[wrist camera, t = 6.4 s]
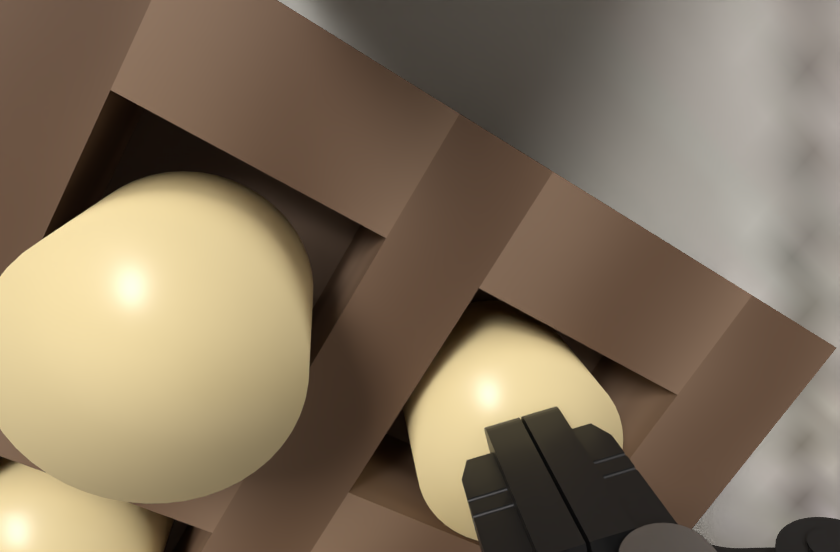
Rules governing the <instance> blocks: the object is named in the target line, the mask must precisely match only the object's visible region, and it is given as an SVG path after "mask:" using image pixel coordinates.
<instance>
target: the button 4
mask: <svg viewBox="0 0 840 552" xmlns="http://www.w3.org/2000/svg"><path fill="white" fill-rule="evenodd" d="M556 406H557V407H558V408H559V409H560V411H561V412H562V414H563V416H564V417H565V419H566V420H567V422H568V423H569V425H570V426H571V428H572V429H573V428H576V427H580V426H583V425H587V424H590V423H591V424H593V425H595V426H597V427H598V428H600V429H602V430H604V431H606V432H607V433H609V434H611V435H612V436H613V437H614V439H615V440H616V441H617V443H618V444H619V445H620V447H621V448H622V449H623V430H622V424H621V420H620V416H619V414H618V411H617V409H616V407H615V405H614V403H613V401H612V400H611V398H610V397H609V395H608V394H607V393H606V392H605V390H604V389H603V388H602V387H601V385H600V384H599V383H598V382H597V381H596V379H595V378H594V377H593V376H592V374H591V373H590V372H589V371H588V370H587V368H586V367H585V366H584V365H583V363H582V362H581V361H580V360H579V359H578V357H577V356H576V355H575V354H574V352H573V351H572V350H571V349H570V348H569V346H568V345H567V344H566V343H565V341H564V340H563V339H562V338H561V337H560V335H559V334H558V333H557V332H556V330H555V329H554V328H552V327H550V326H548V325H547V324H545V323H543V322H541V321H539V320H537V319H535V318H533V317H532V316H530V315H528V314H526V313H524V312H522V311H520V310H519V309H517V308H515V307H513V306H511V305H509V304H507V303H506V302H504V301H490V300H489V301H479V302H474V303H469V304H468V306H467V308H466V309H465V311H464V312H463V314H462V315H461V317H460V319H459V320H458V322H457V323H456V325H455V326H454V328H453V330H452V331H451V333H450V334H449V336H448V337H447V339H446V340H445V342H444V344H443V345H442V347H441V348H440V350H439V351H438V353H437V355H436V356H435V358H434V359H433V361H432V362H431V364H430V366H429V367H428V369H427V370H426V372H425V373H424V375H423V376H422V378H421V380H420V381H419V383H418V384H417V386H416V387H415V389H414V391H413V392H412V394H411V395H410V397H409V398H408V400H407V402H406V403H405V405H404V406H403V412H404V417H405V421H406V426H407V431H408V435H409V440H410V445H411V449H412V454H413V459H414V463H415V468H416V473H417V477H418V482H419V487H420V490H421V492H422V495H423V497H424V499H425V501H426V503H427V505H428V506H429V508H430V509H431V511H432V512H433V513H434V514H435V515H436V517H437V518H438V519H439V520H441V521H442V522H443V523H444V524H445V525H446V526H448V527H449V528H451V529H452V530H454V531H455V532H457V533H459V534H461V535H463V536H465V537H468V538H471V539H474V540H477V541H478V538H477V534H476V531H475V527H474V523H473V520H472V516H471V513H470V509H469V505H468V502H467V498H466V494H465V491H464V487H463V483H462V476H463V472H464V469H465V465H466V461H467V460H469V459H472V458H476V457H479V456H482V455H486V454H489V453H490V451H489V447H488V443H487V439H486V435H485V431H484V428H485V427H488V426H491V425H495V424H498V423H502V422H505V421H508V420H512V419H515V418H520V419H521V417H522V416H525V415H528V414H532V413H535V412H539V411H542V410H545V409H549V408H552V407H556Z"/></svg>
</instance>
